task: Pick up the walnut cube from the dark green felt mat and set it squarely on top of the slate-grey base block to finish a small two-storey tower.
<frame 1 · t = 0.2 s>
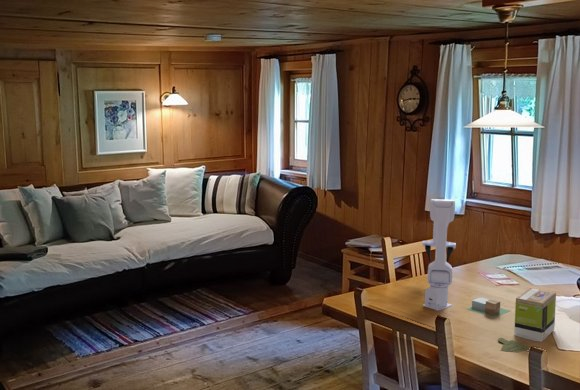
hand: (438, 261, 291), 11 cm above the table, tool pointing down, fingers open, 7 cm apart
base block: (482, 307, 259), resting on felt mat
felt mat: (488, 310, 257), on the table
green leaf: (518, 351, 218), on the table
tea box: (534, 334, 233), on the table
walnut cube: (492, 313, 252), resting on felt mat
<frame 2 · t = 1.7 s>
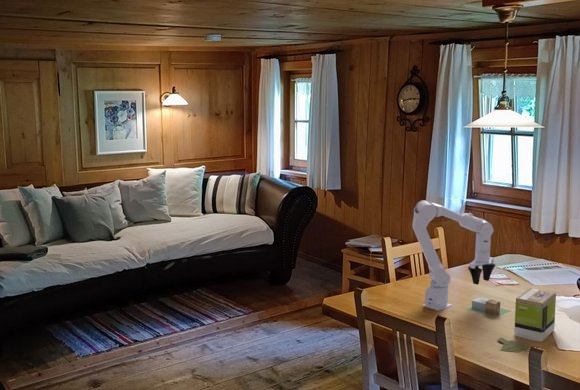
hand: (481, 282, 262), 10 cm above the table, tool pointing down, fingers open, 7 cm apart
nothing on the table moved.
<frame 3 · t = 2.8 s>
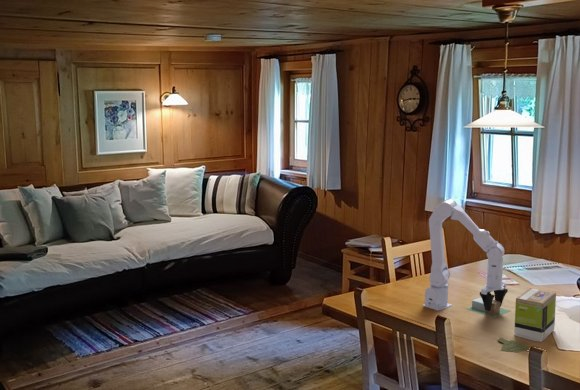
hand: (492, 308, 252), 3 cm above the table, tool pointing down, fingers open, 7 cm apart
nothing on the table moved.
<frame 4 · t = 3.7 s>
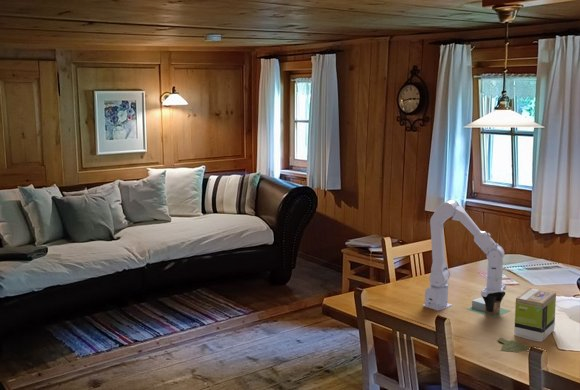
hand: (492, 310, 252), 2 cm above the table, tool pointing down, fingers closed on walnut cube, 4 cm apart
walnut cube: (492, 313, 252), resting on felt mat, touching gripper
everything else where it was.
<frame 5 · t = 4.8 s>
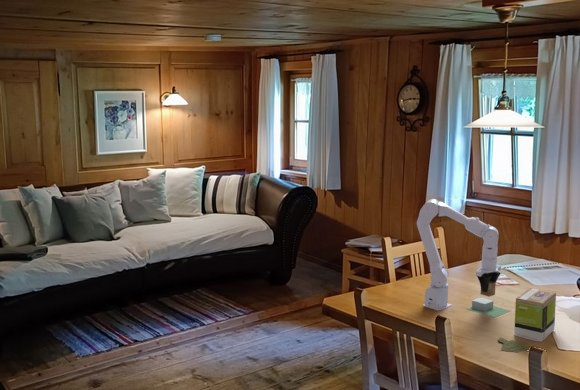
hand: (487, 290, 255), 9 cm above the table, tool pointing down, fingers closed on walnut cube, 4 cm apart
walnut cube: (487, 294, 255), point 7 cm above the table, touching gripper
everything else where it was.
when the fingers open (6 cm above the table, at t = 6.1 s): walnut cube stays where it is, resting on base block.
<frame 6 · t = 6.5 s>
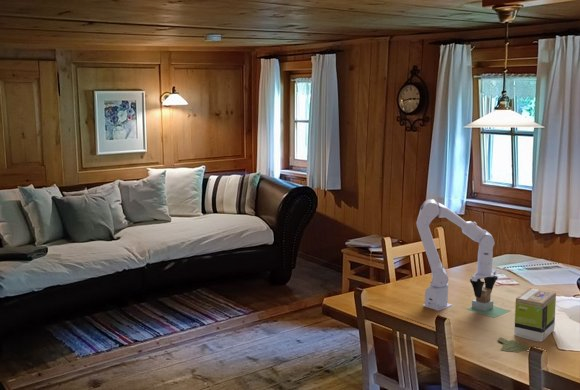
hand: (483, 294, 258), 6 cm above the table, tool pointing down, fingers open, 7 cm apart
walnut cube: (483, 300, 259), point 3 cm above the table, touching base block
everything else where it was.
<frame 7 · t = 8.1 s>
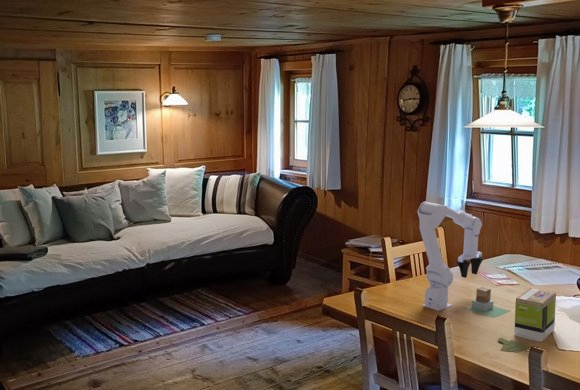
hand: (469, 275, 271), 10 cm above the table, tool pointing down, fingers open, 7 cm apart
nothing on the table moved.
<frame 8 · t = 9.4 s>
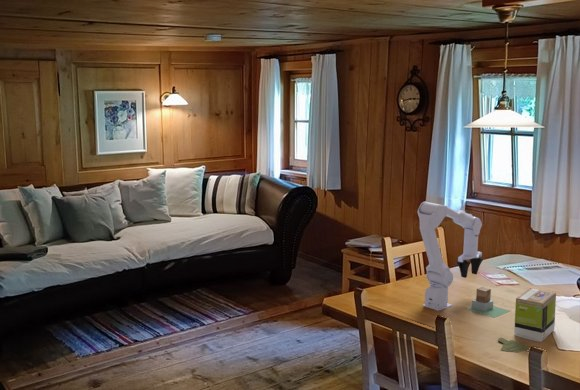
hand: (469, 275, 271), 10 cm above the table, tool pointing down, fingers open, 7 cm apart
nothing on the table moved.
at the end: walnut cube 0.2 cm off-centre on the base block, point 3.0 cm above the base block's base; walnut cube tilted 0°; the gripper is holding nothing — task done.
